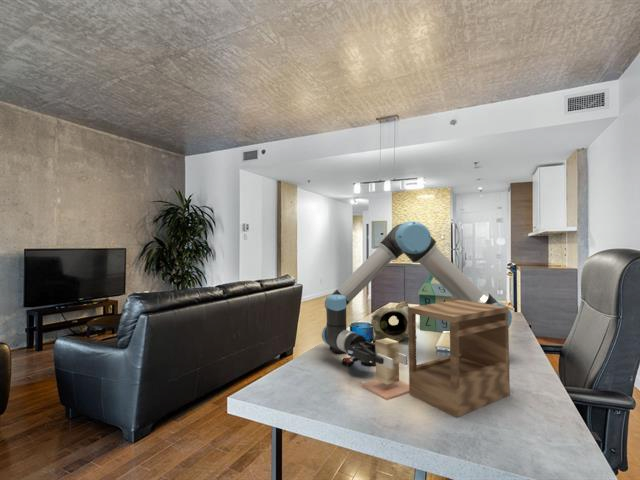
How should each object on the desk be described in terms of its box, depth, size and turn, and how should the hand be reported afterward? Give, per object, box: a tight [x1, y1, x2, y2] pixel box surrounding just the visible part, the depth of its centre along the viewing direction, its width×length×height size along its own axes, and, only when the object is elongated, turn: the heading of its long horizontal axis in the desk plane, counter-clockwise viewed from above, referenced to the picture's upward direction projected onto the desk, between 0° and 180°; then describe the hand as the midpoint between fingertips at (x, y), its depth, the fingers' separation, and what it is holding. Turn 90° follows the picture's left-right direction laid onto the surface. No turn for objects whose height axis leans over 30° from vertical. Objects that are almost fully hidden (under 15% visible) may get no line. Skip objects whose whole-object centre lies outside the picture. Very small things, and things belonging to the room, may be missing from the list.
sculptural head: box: [370, 300, 410, 342], centre depth 163 cm, size 17×21×25 cm
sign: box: [329, 340, 376, 369], centre depth 137 cm, size 27×2×30 cm
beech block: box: [374, 338, 400, 385], centre depth 106 cm, size 5×5×12 cm
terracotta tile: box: [359, 378, 409, 401], centre depth 106 cm, size 12×12×1 cm
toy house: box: [417, 273, 457, 334], centre depth 178 cm, size 17×16×30 cm
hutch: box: [408, 300, 511, 418], centre depth 101 cm, size 24×16×26 cm, turn 121°
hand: (399, 362), depth 102 cm, fingers closed on beech block, 5 cm apart
